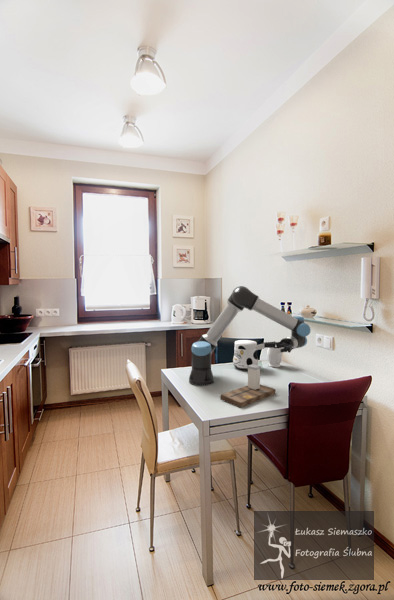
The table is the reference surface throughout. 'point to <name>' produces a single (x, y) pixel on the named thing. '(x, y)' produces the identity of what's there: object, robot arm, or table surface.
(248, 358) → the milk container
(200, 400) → the table surface
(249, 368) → the white lidded canister
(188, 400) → the table surface
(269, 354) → the jar
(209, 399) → the table surface
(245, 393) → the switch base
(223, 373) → the table surface
